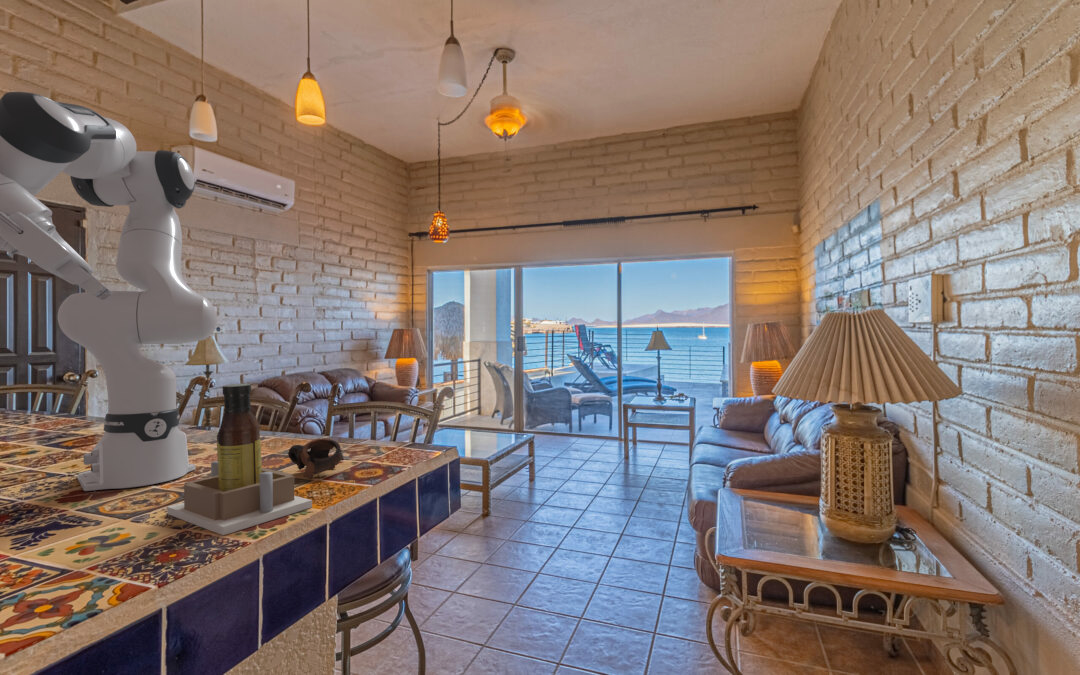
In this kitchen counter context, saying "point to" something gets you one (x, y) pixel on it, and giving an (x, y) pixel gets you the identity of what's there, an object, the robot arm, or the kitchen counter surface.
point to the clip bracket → (238, 502)
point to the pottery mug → (316, 456)
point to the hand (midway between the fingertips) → (103, 294)
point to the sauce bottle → (238, 440)
